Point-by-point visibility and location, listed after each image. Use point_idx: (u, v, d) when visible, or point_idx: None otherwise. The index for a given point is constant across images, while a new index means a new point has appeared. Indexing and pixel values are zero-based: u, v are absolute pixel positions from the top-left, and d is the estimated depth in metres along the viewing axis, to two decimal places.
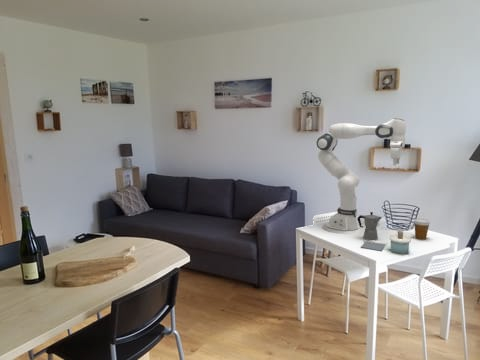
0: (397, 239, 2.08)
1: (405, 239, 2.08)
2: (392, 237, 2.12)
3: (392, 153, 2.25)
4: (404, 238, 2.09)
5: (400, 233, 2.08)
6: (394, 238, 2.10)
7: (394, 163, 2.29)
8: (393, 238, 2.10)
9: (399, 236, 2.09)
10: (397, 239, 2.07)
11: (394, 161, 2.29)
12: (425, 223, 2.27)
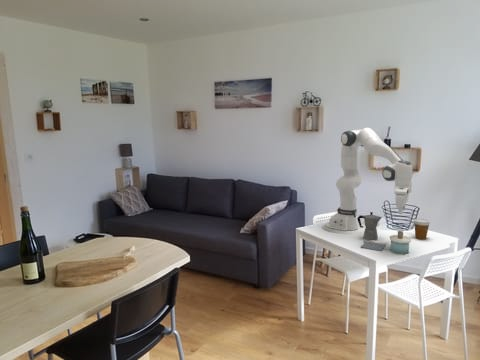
0: (397, 239, 2.08)
1: (405, 239, 2.08)
2: (392, 237, 2.12)
3: (397, 201, 1.99)
4: (404, 238, 2.09)
5: (400, 233, 2.08)
6: (394, 238, 2.10)
7: (399, 211, 2.03)
8: (393, 238, 2.10)
9: (399, 236, 2.09)
10: (397, 239, 2.07)
11: (399, 209, 2.02)
12: (425, 223, 2.27)
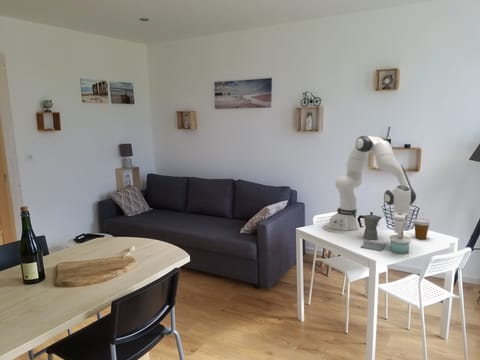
0: (397, 239, 2.08)
1: (405, 239, 2.08)
2: (392, 237, 2.12)
3: (396, 227, 2.01)
4: (404, 238, 2.09)
5: None
6: (394, 238, 2.10)
7: (399, 235, 2.08)
8: (393, 238, 2.10)
9: None
10: (397, 239, 2.07)
11: (399, 233, 2.07)
12: (425, 223, 2.27)
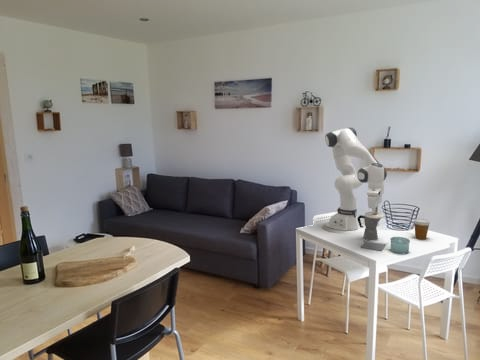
0: (371, 215, 2.14)
1: (379, 215, 2.14)
2: (367, 213, 2.17)
3: (369, 202, 2.07)
4: (378, 214, 2.15)
5: None
6: (369, 214, 2.16)
7: (373, 211, 2.13)
8: (368, 214, 2.16)
9: None
10: (372, 215, 2.13)
11: (373, 209, 2.13)
12: (425, 223, 2.27)
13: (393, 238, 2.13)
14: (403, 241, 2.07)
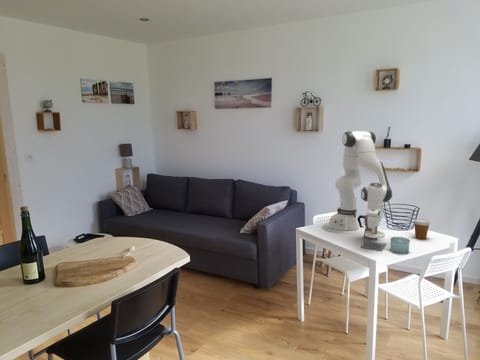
0: (371, 234, 2.16)
1: (379, 234, 2.15)
2: (367, 233, 2.19)
3: (369, 222, 2.09)
4: (378, 233, 2.17)
5: None
6: (368, 233, 2.17)
7: (373, 230, 2.15)
8: (368, 233, 2.18)
9: None
10: (372, 235, 2.15)
11: (373, 229, 2.15)
12: (425, 223, 2.27)
13: (393, 238, 2.13)
14: (403, 241, 2.07)
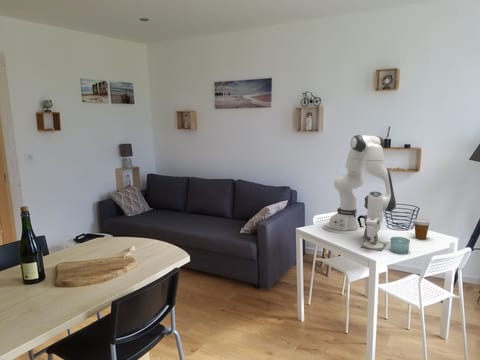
0: (370, 245, 2.17)
1: (378, 245, 2.17)
2: (366, 243, 2.21)
3: (368, 231, 2.10)
4: (377, 244, 2.19)
5: None
6: (368, 244, 2.19)
7: (371, 240, 2.16)
8: (367, 244, 2.19)
9: (372, 242, 2.18)
10: (371, 245, 2.16)
11: (371, 238, 2.15)
12: (425, 223, 2.27)
13: (393, 238, 2.13)
14: (403, 241, 2.07)
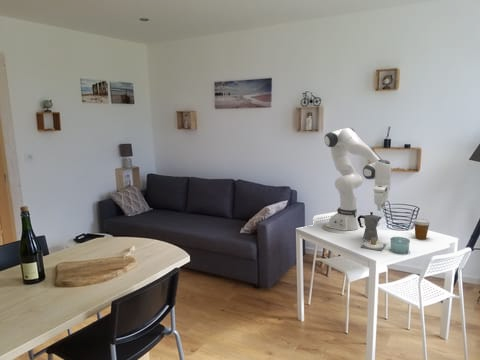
0: (370, 245, 2.17)
1: (378, 245, 2.17)
2: (366, 243, 2.21)
3: (376, 198, 2.08)
4: (377, 244, 2.19)
5: (373, 239, 2.18)
6: (368, 244, 2.19)
7: (378, 208, 2.13)
8: (367, 244, 2.19)
9: (372, 242, 2.18)
10: (371, 245, 2.16)
11: (378, 206, 2.12)
12: (425, 223, 2.27)
13: (393, 238, 2.13)
14: (403, 241, 2.07)
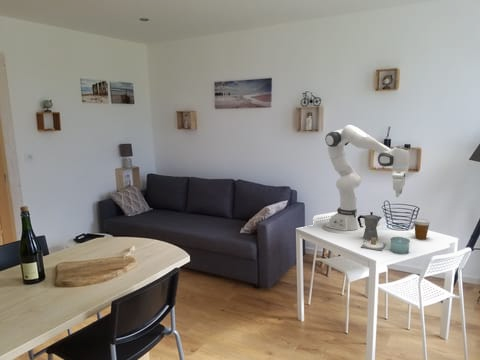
0: (370, 245, 2.17)
1: (378, 245, 2.17)
2: (366, 243, 2.21)
3: (394, 184, 2.10)
4: (377, 244, 2.19)
5: (373, 239, 2.18)
6: (368, 244, 2.19)
7: (397, 194, 2.15)
8: (367, 244, 2.19)
9: (372, 242, 2.18)
10: (371, 245, 2.16)
11: (397, 192, 2.14)
12: (425, 223, 2.27)
13: (393, 238, 2.13)
14: (403, 241, 2.07)
